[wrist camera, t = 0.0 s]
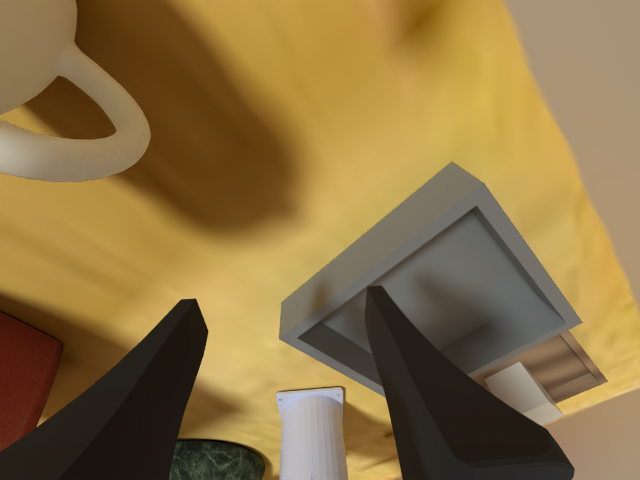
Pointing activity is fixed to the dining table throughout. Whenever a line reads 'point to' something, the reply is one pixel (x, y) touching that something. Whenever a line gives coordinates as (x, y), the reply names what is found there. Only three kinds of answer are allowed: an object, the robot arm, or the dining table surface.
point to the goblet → (214, 462)
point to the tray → (555, 367)
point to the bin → (432, 285)
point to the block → (524, 393)
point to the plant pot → (24, 377)
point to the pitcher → (36, 74)
